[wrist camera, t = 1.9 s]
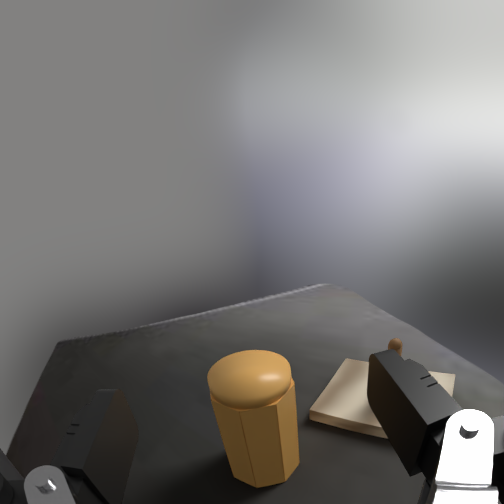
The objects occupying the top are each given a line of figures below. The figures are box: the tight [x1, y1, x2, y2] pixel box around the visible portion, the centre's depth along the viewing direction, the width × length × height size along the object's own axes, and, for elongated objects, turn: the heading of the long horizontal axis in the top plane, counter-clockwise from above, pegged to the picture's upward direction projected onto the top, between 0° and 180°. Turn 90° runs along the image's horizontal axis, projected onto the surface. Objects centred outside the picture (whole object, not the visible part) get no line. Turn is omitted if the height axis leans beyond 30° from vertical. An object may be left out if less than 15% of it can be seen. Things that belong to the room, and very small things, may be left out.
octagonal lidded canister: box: [207, 350, 299, 488], centre depth 23 cm, size 6×6×11 cm
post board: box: [310, 338, 455, 439], centre depth 28 cm, size 14×10×8 cm
